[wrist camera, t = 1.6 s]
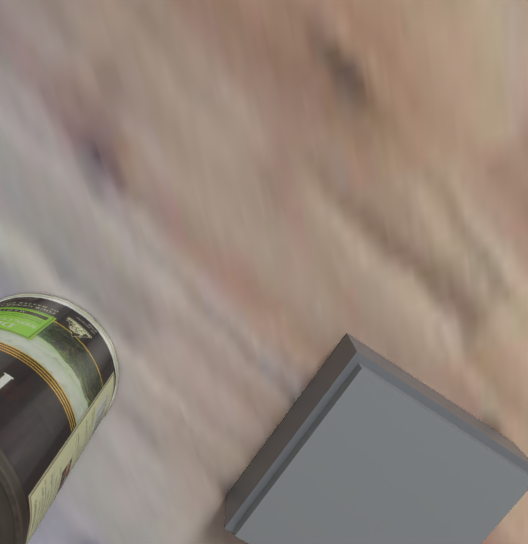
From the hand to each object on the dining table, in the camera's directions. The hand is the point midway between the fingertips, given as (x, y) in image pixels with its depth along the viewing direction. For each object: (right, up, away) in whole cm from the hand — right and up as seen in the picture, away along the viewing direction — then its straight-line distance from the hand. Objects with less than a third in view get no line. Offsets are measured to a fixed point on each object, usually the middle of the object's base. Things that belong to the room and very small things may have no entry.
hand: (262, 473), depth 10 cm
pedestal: (+7, -9, +24) cm, 27 cm away
